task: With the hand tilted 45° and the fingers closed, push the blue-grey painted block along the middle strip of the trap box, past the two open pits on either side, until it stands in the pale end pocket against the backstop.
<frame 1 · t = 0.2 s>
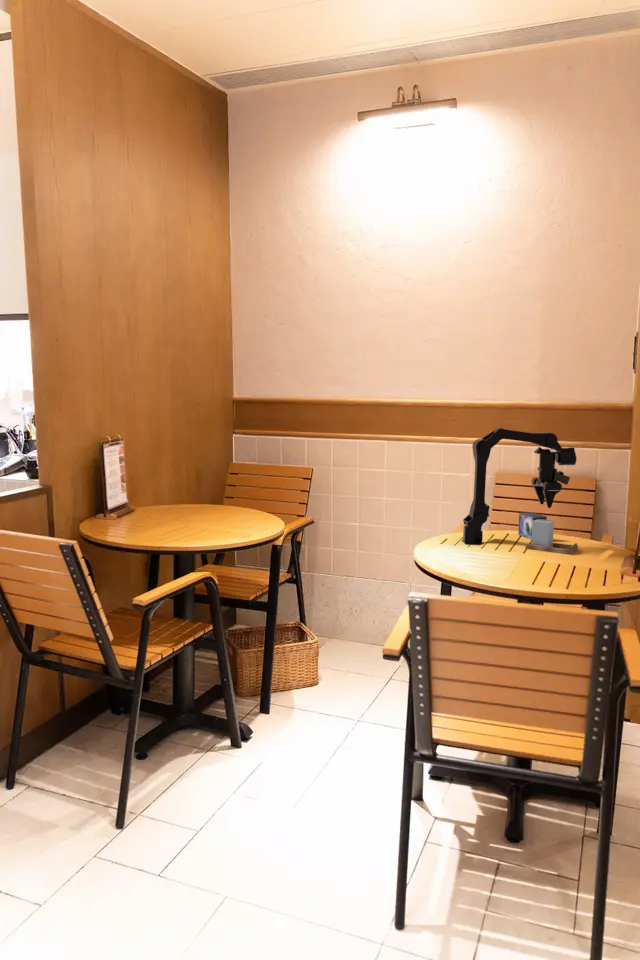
hand: (545, 506, 296), 15 cm above the table, tool pointing down, fingers open, 9 cm apart
small box: (531, 541, 304), on the table
block: (541, 548, 283), point 1 cm above the table, touching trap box
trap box: (551, 553, 281), on the table
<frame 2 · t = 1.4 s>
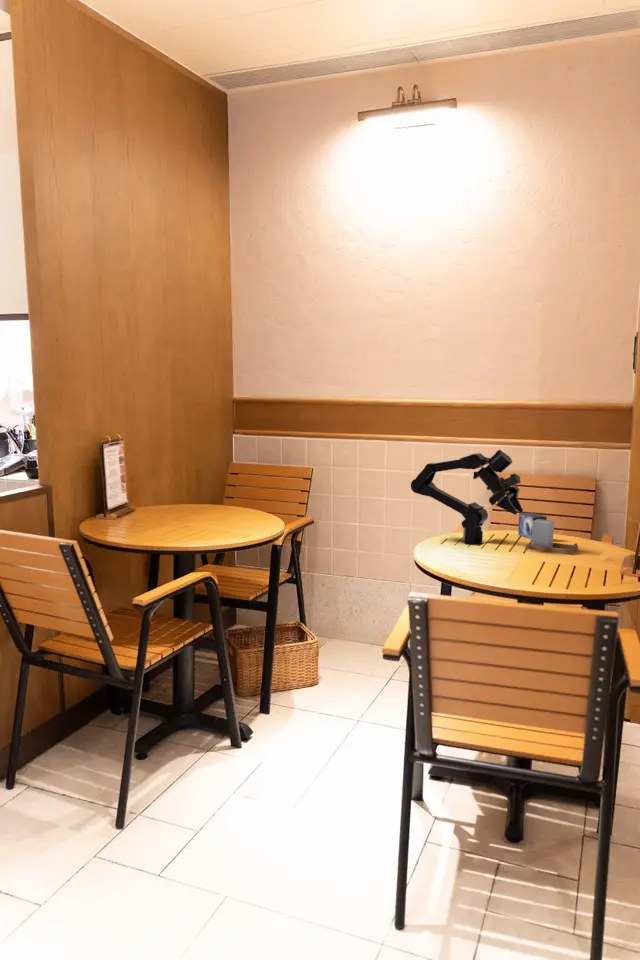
hand: (519, 512, 286), 14 cm above the table, tool tilted 45°, fingers open, 6 cm apart
nothing on the table moved.
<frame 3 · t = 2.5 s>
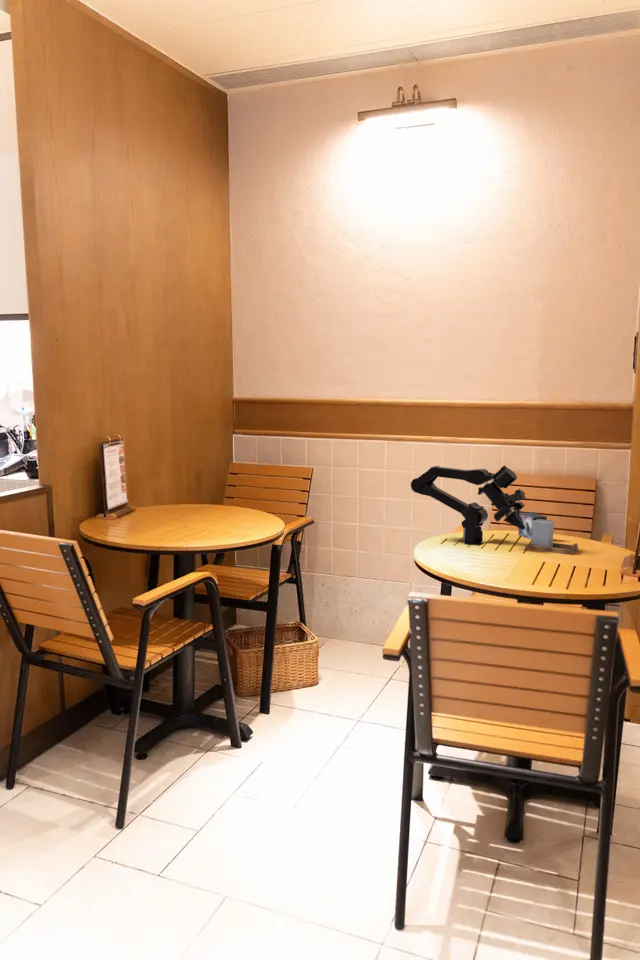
hand: (524, 528, 286), 8 cm above the table, tool tilted 45°, fingers closed
nothing on the table moved.
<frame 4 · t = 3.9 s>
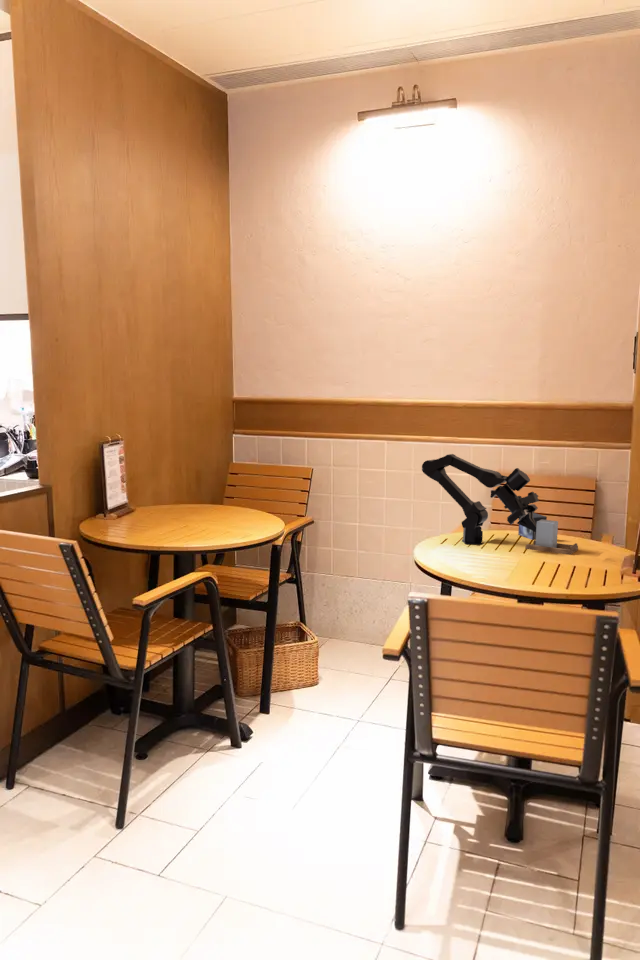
hand: (537, 531, 283), 7 cm above the table, tool tilted 45°, fingers closed
block: (545, 548, 282), point 2 cm above the table
everything else where it was.
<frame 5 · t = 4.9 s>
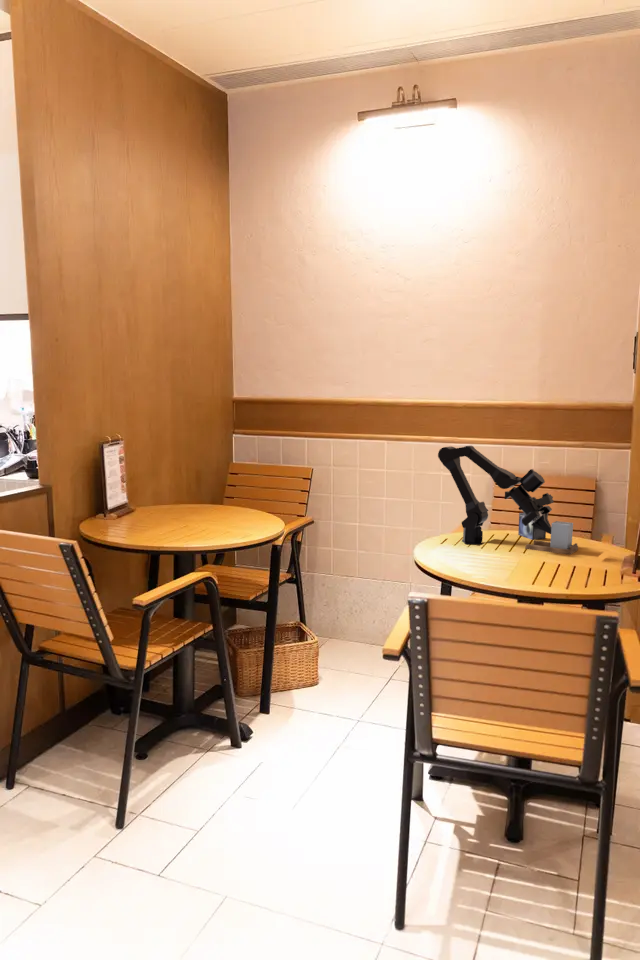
hand: (552, 533, 280), 7 cm above the table, tool tilted 45°, fingers closed
block: (560, 550, 279), point 2 cm above the table, touching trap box
everything else where it was.
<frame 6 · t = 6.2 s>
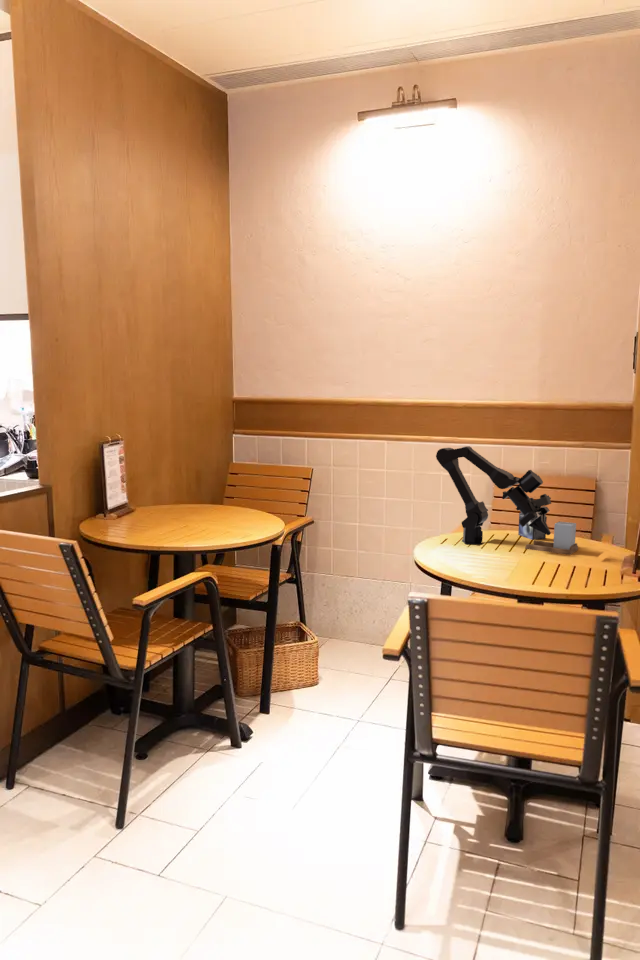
hand: (549, 534, 281), 7 cm above the table, tool tilted 45°, fingers closed
block: (563, 550, 278), point 1 cm above the table, touching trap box
everything else where it was.
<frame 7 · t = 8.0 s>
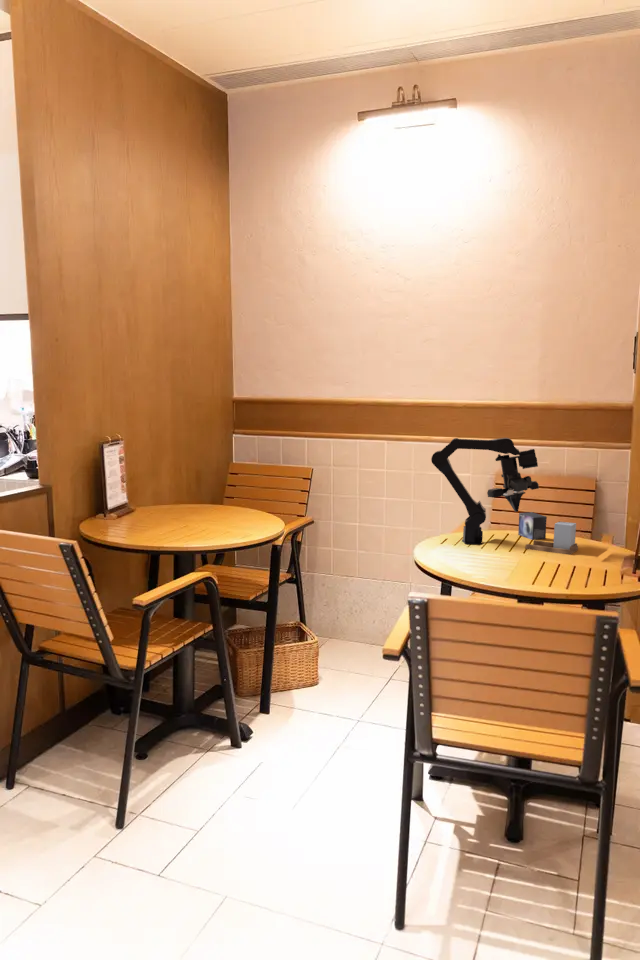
hand: (516, 511, 292), 13 cm above the table, tool pointing down, fingers closed
nothing on the table moved.
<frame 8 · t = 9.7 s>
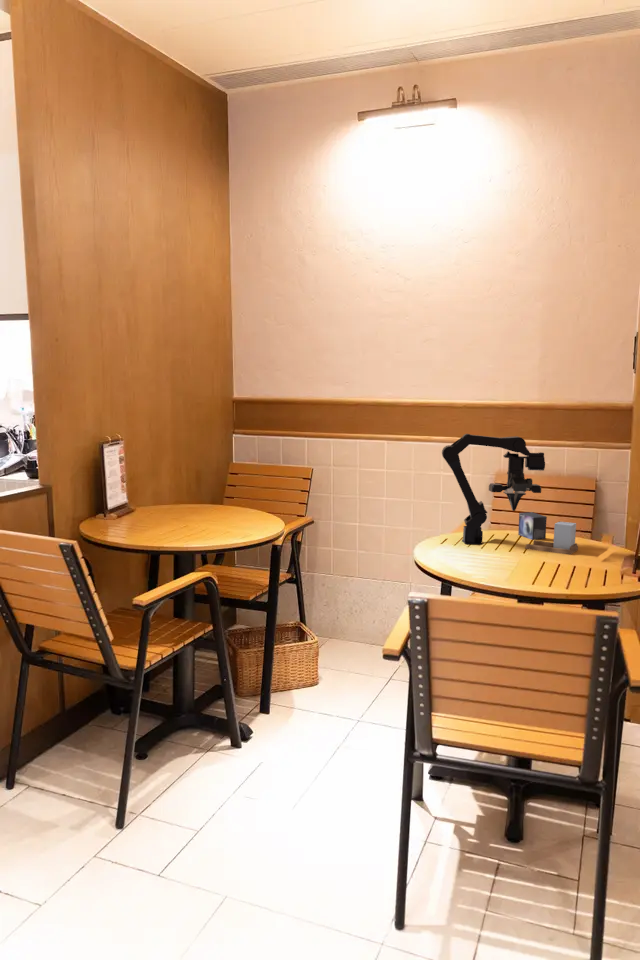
hand: (513, 510, 294), 13 cm above the table, tool pointing down, fingers closed
nothing on the table moved.
at the end: block 0.1 cm from the target spot, point 1.5 cm above the table; block tilted 0°; the gripper is holding nothing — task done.
